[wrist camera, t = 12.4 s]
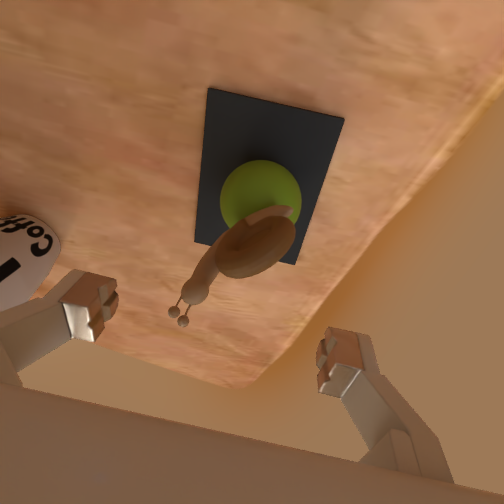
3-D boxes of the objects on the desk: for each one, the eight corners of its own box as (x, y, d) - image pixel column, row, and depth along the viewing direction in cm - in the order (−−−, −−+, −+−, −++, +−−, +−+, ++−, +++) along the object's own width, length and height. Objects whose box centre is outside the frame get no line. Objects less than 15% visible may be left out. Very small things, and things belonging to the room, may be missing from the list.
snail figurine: (204, 181, 22) (130, 282, 12) (277, 134, 20) (257, 214, 10) (243, 235, 24) (207, 357, 15) (314, 199, 22) (327, 317, 12)
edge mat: (209, 87, 19) (207, 87, 19) (344, 118, 19) (345, 119, 19) (195, 239, 26) (194, 242, 26) (294, 262, 26) (294, 265, 26)
